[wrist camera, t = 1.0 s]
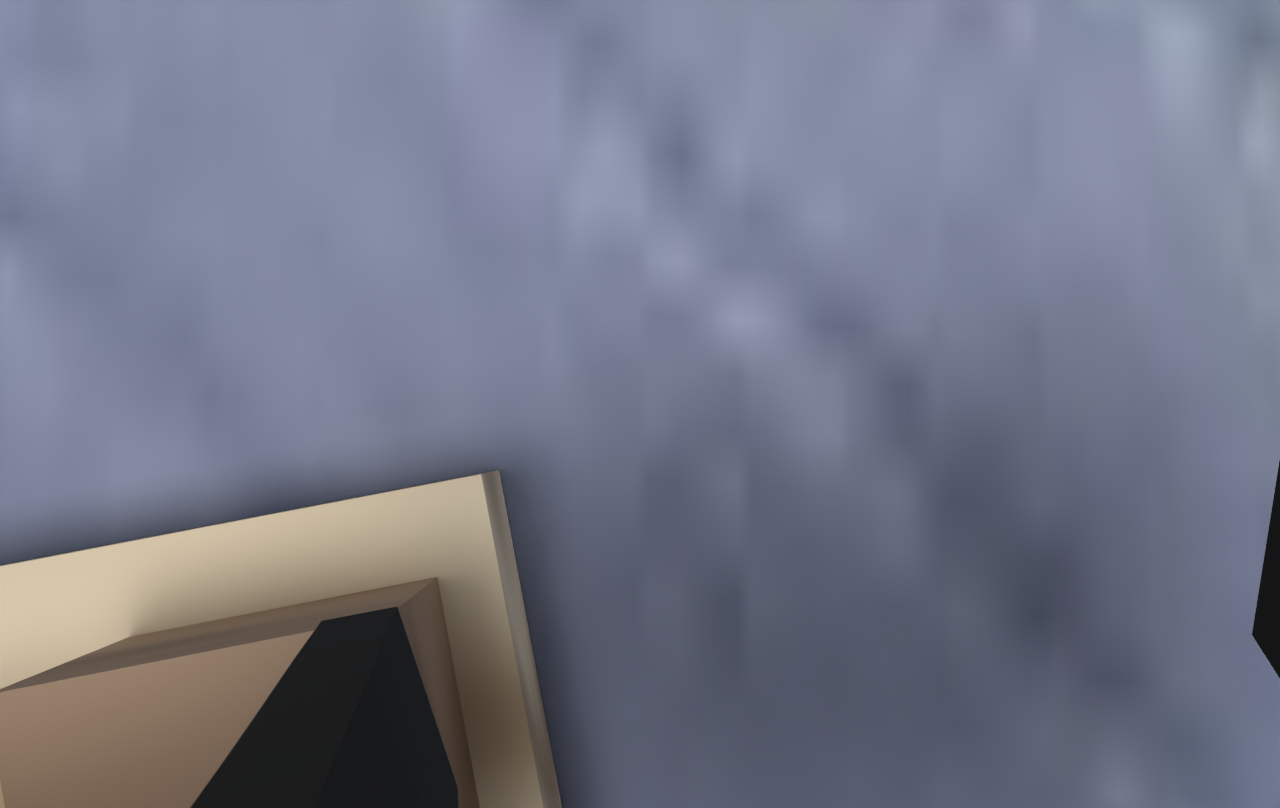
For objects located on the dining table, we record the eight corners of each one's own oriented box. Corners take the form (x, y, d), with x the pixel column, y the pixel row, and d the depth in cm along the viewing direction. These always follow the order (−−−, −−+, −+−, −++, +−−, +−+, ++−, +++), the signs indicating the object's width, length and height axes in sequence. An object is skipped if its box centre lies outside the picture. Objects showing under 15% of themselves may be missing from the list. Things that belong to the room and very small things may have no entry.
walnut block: (493, 884, 17) (460, 1015, 13) (182, 948, 17) (54, 1101, 13) (437, 576, 17) (388, 615, 13) (129, 637, 17) (-15, 694, 13)
